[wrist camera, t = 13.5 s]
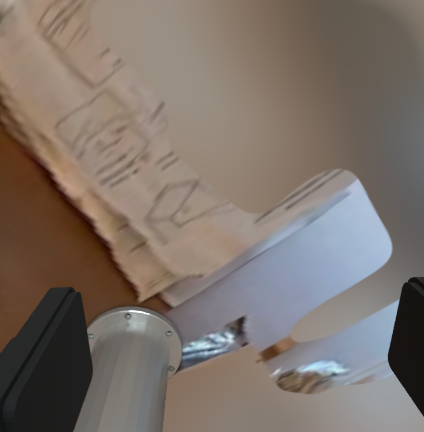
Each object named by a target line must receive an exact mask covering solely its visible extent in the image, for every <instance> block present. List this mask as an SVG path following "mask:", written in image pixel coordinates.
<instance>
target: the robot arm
mask: <svg viewBox="0 0 424 432" xmlns="http://www.w3.org/2000/svg"><path fill="white" fill-rule="evenodd" d="M181 359H182V340H181V337H180V334H179V332H178V331H177V329H176V327H175V326H174V325H173V324H172V323H171V321H169V320H168V319H167V318H165V317H164V316H163V315H161V314H159V313H157V312H155V311H152V310H149V309H147V308H141V307H120V308H115V309H112V310H109V311H107V312H105V313H103V314H101V315H99V316H98V317H97V318H96V319H95V320H93V321H92V323H91V324H90V325H89V326H88V328H87V327H86V321H85V315H84V309H83V303H82V297H81V294H80V292H75V290H74V289H73V288H72V287H61V288H50V289H49V290H48V292H47V293H46V295H45V296H44V298H43V299H42V300H41V302H40V303H39V305H38V306H37V307H36V309H35V310H34V312H33V313H32V314H31V316H30V317H29V319H28V320H27V321H26V323H25V324H24V326H23V327H22V328H21V330H20V331H19V333H18V334H17V335H16V337H15V338H12V339H11V341H10V342H9V343H8V344H7V345H6V347H5V348H4V350H3V351H2V352H1V354H0V432H162V430H163V420H164V408H165V399H166V389H167V380H168V379H169V378H170V377H171V376H172V375H173V374H174V373H175V372H176V370H177V369H178V367H179V365H180V362H181ZM388 362H389V365H390V368H391V369H392V371H393V372H394V374H395V375H396V377H397V378H398V380H399V381H400V383H401V384H402V386H403V387H404V388H405V390H406V391H407V393H408V394H409V396H410V397H411V399H412V400H413V402H414V403H415V405H416V406H417V408H418V409H419V410H420V412H421V413H422V415H423V416H424V277H413V278H410V279H409V280H408V282H406V283H405V284H404V285H403V287H402V292H401V296H400V301H399V306H398V310H397V315H396V320H395V324H394V329H393V334H392V338H391V343H390V348H389V352H388Z"/></svg>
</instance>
